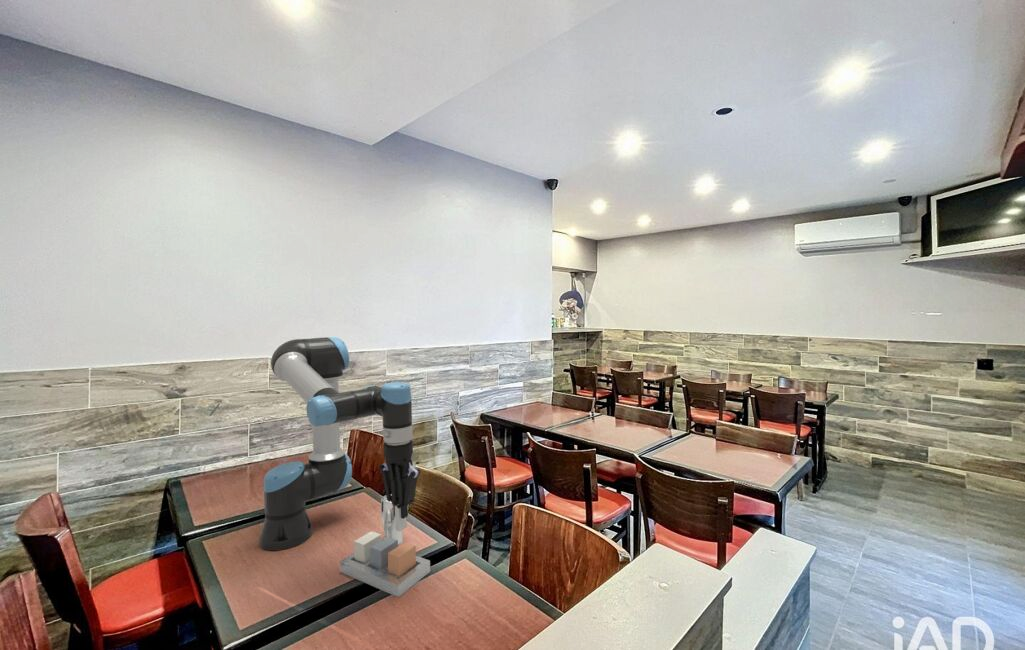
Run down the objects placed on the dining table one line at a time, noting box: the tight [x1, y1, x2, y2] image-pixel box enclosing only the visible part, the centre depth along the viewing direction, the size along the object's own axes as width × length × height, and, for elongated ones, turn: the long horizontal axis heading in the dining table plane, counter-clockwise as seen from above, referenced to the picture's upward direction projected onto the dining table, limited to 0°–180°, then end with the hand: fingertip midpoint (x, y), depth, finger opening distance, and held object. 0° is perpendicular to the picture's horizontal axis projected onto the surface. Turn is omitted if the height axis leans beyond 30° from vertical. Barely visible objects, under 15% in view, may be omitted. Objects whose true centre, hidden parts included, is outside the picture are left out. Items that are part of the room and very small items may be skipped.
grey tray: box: [339, 552, 431, 598], centre depth 118 cm, size 22×12×4 cm, turn 60°
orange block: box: [388, 541, 417, 576], centre depth 114 cm, size 4×6×5 cm, turn 150°
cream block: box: [353, 531, 382, 563], centre depth 121 cm, size 4×6×5 cm, turn 150°
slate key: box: [370, 537, 399, 569], centre depth 117 cm, size 4×6×5 cm, turn 150°
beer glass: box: [380, 494, 404, 546], centre depth 133 cm, size 7×7×15 cm
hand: (401, 528), depth 114 cm, fingers closed
